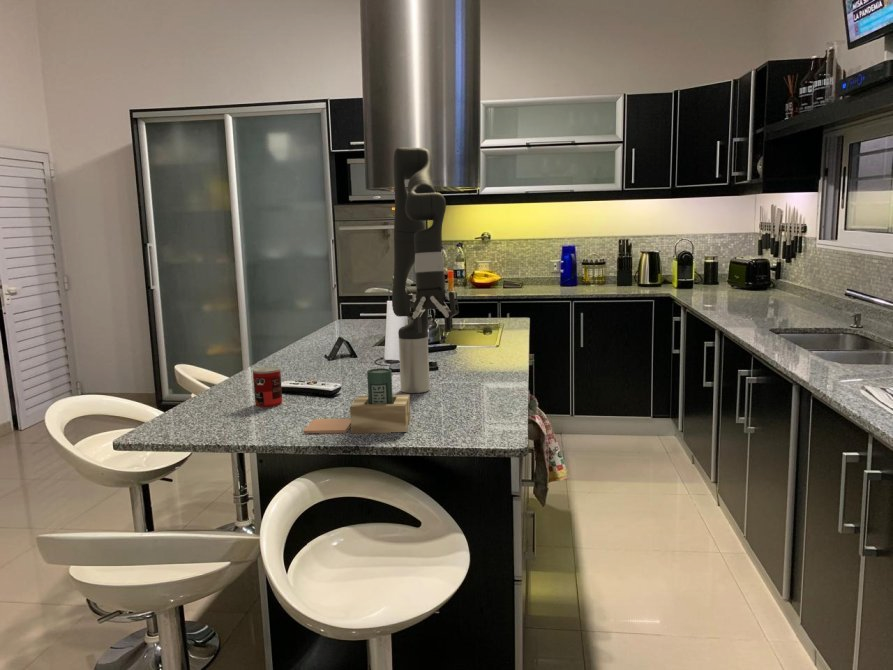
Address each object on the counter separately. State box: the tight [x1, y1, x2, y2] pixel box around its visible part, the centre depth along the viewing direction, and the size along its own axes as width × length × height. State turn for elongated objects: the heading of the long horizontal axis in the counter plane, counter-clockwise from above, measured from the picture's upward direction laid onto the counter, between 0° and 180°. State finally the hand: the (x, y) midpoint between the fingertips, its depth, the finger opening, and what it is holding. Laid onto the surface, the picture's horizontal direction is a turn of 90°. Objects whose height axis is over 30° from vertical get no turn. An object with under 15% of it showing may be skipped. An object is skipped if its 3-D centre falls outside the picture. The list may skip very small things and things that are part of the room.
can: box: [366, 367, 394, 404], centre depth 185 cm, size 6×6×15 cm
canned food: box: [252, 366, 283, 408], centre depth 213 cm, size 8×8×11 cm
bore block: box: [349, 394, 412, 434], centre depth 185 cm, size 12×14×7 cm
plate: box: [303, 418, 351, 434], centre depth 187 cm, size 11×11×1 cm
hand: (433, 332), depth 185 cm, fingers open, 8 cm apart
